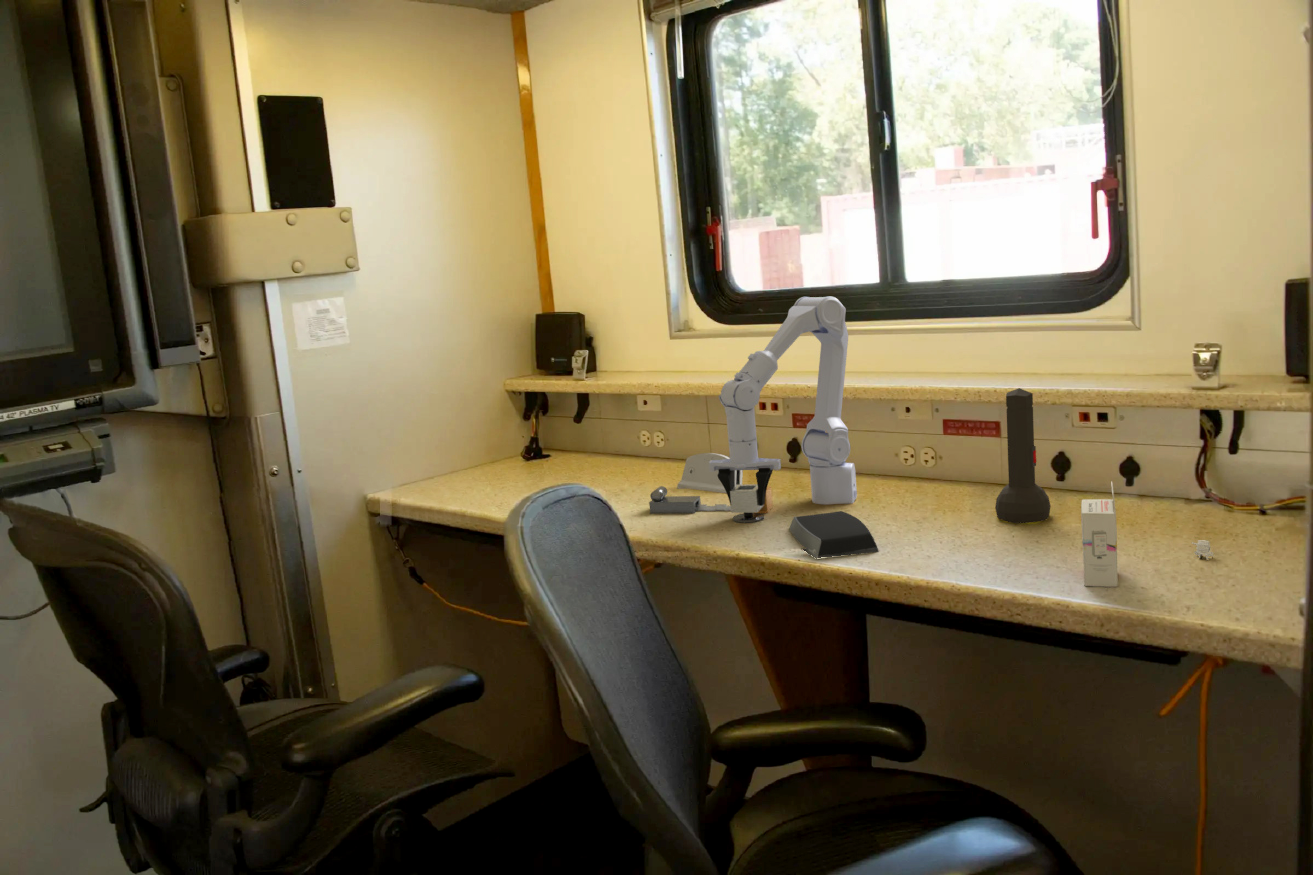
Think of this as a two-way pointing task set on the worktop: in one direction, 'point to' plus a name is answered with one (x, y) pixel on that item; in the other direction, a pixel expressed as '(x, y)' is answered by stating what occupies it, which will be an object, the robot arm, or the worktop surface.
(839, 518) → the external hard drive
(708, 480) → the light grey piece
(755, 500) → the grey recessed block
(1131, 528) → the worktop surface
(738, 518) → the post
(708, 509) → the chain slider
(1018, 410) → the flashlight
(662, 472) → the worktop surface
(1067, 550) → the worktop surface
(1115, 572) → the ink cartridge box
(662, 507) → the chain housing
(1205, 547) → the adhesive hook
